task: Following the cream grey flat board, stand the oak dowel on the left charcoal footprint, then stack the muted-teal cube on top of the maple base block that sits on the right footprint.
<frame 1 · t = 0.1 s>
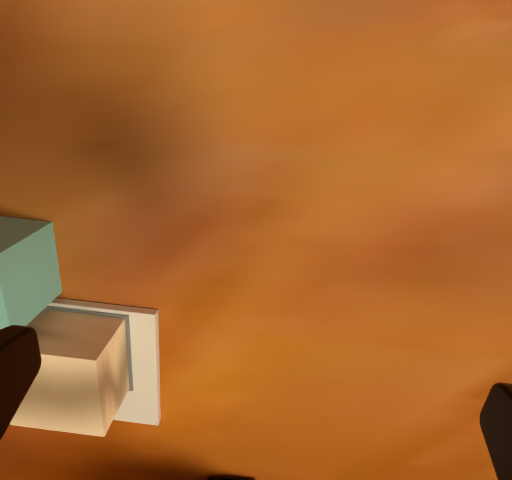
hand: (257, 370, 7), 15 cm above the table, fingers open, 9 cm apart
cream grey flat board: (50, 355, 27), on the table
teal cube: (20, 253, 24), on the table
maple base block: (84, 349, 26), point 1 cm above the table, touching cream grey flat board
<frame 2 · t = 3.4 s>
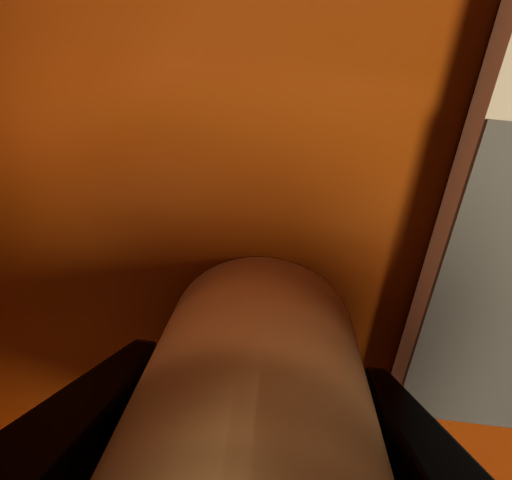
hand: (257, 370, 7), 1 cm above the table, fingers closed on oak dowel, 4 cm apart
oak dowel: (261, 337, 8), on the table, touching gripper
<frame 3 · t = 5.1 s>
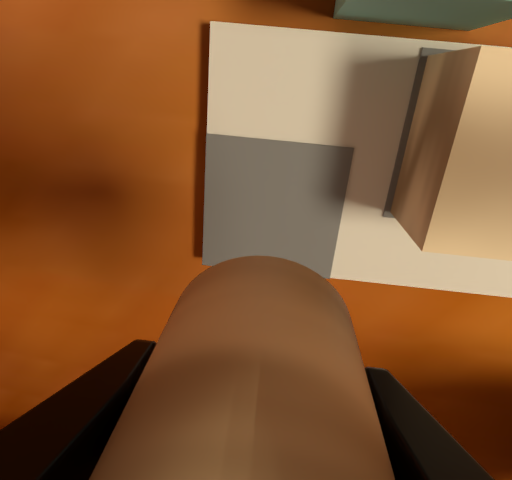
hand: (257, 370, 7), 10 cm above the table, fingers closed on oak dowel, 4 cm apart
cream grey flat board: (393, 173, 16), on the table
maple base block: (484, 147, 15), point 1 cm above the table, touching cream grey flat board
oak dowel: (261, 336, 8), point 9 cm above the table, touching gripper
when the fingers open (3 cm above the table, at t = 6.7 s): oak dowel stays where it is, resting on cream grey flat board.
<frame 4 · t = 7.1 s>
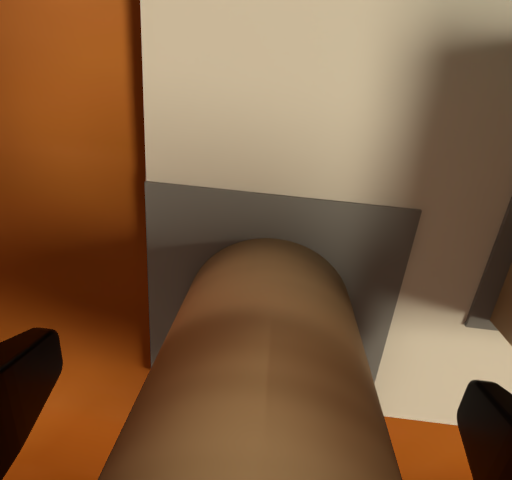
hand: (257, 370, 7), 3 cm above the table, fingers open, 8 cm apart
cream grey flat board: (486, 250, 9), on the table
oak dowel: (267, 312, 9), point 1 cm above the table, touching cream grey flat board
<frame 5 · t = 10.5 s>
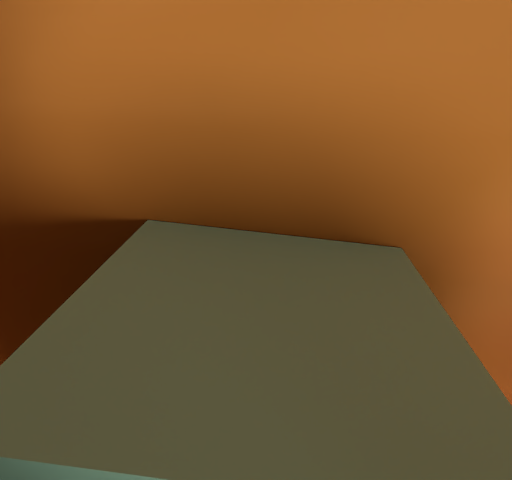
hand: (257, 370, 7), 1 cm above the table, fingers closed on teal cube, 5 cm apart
teal cube: (261, 337, 8), on the table, touching gripper
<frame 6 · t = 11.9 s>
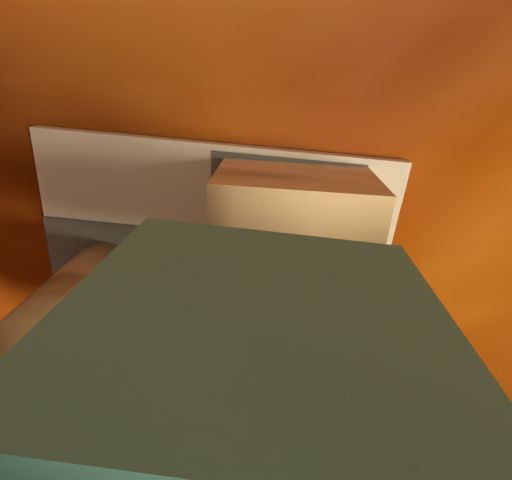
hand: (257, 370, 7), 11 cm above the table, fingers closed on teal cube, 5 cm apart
cream grey flat board: (216, 247, 18), on the table
teal cube: (260, 335, 8), point 9 cm above the table, touching gripper
maple base block: (289, 229, 17), point 1 cm above the table, touching cream grey flat board
oak dowel: (111, 279, 18), point 1 cm above the table, touching cream grey flat board
when the fingers open (7 cm above the table, at t = 13.2 s): teal cube stays where it is, resting on maple base block.
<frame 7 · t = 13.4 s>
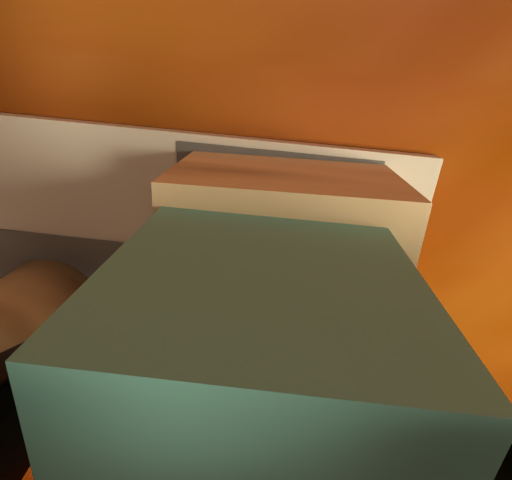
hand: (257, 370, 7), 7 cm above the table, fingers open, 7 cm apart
cream grey flat board: (187, 266, 14), on the table
teal cube: (263, 312, 9), point 5 cm above the table, touching maple base block
maple base block: (280, 245, 13), point 1 cm above the table, touching cream grey flat board, teal cube
oak dowel: (56, 305, 14), point 1 cm above the table, touching cream grey flat board
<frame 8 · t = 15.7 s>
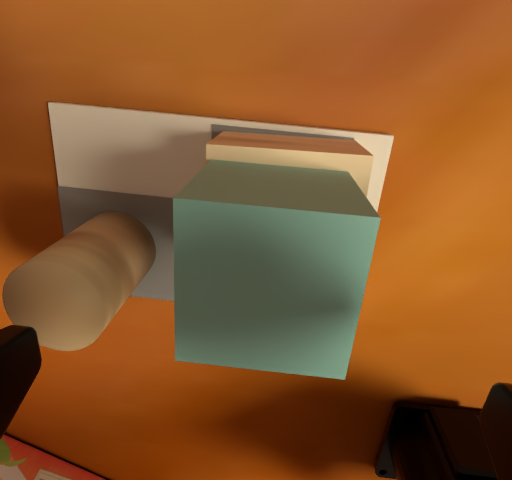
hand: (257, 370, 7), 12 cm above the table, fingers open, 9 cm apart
cream grey flat board: (215, 217, 19), on the table
teal cube: (273, 229, 14), point 5 cm above the table, touching maple base block
cracker box: (52, 474, 29), on the table
maple base block: (282, 198, 18), point 1 cm above the table, touching cream grey flat board, teal cube
oak dowel: (119, 247, 20), point 1 cm above the table, touching cream grey flat board
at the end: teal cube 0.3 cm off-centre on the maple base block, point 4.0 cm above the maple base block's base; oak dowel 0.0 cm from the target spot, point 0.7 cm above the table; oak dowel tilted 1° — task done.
